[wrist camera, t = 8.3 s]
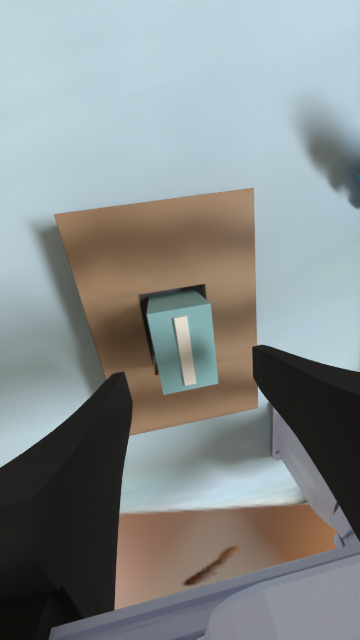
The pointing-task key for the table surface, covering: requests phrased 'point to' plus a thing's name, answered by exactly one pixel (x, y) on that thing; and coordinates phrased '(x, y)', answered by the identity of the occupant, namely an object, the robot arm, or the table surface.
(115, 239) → the keyed socket
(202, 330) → the teal striped block
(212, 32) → the table surface
